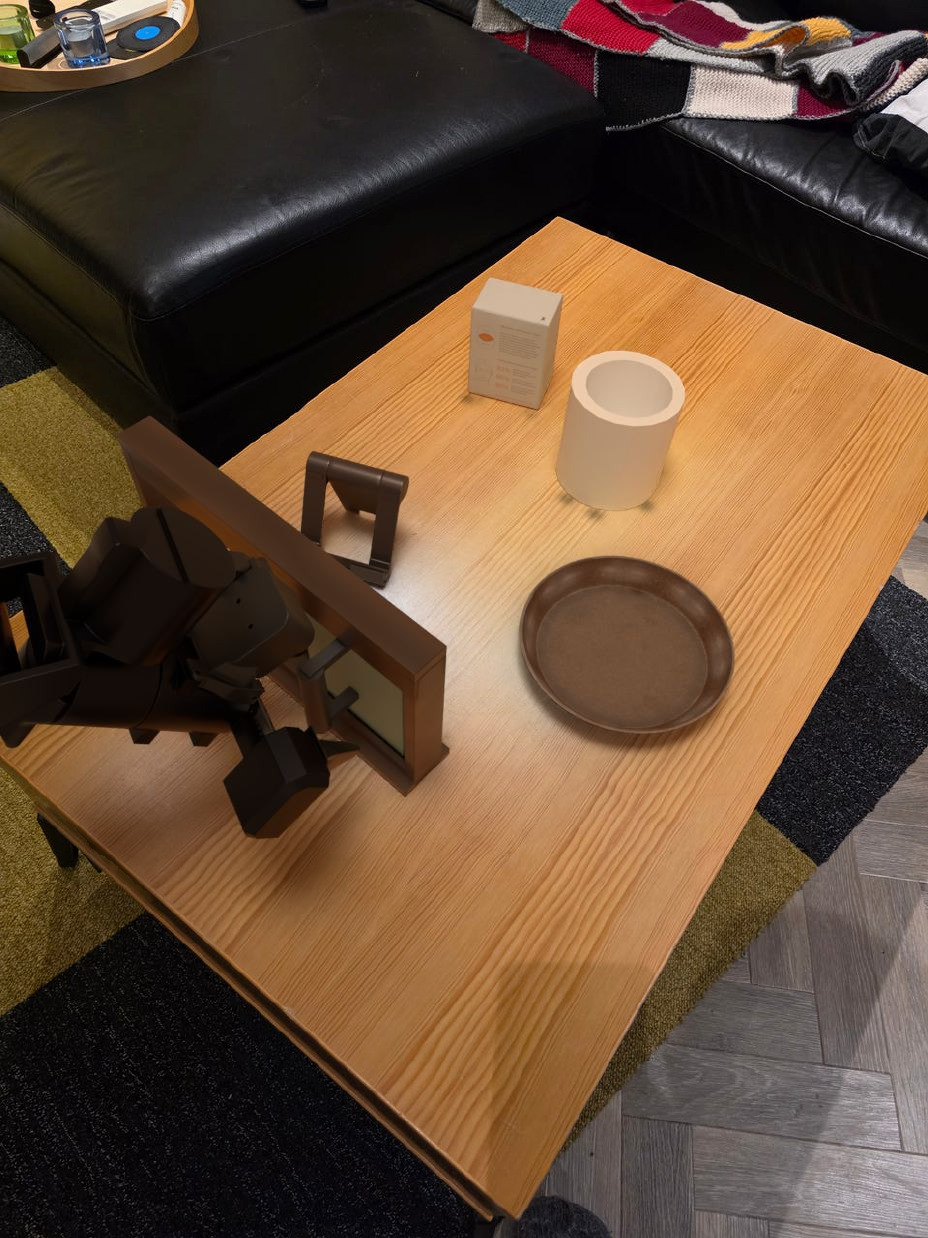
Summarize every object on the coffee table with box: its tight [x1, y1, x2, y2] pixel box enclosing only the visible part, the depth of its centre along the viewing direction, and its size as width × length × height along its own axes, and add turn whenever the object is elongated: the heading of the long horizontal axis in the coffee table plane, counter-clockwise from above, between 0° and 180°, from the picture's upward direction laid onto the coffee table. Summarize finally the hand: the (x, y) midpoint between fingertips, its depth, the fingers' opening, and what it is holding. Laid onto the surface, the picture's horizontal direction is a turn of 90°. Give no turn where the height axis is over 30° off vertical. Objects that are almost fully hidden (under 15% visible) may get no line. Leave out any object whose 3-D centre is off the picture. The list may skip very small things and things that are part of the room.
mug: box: [555, 350, 686, 512], centre depth 83 cm, size 14×10×11 cm
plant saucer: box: [518, 555, 736, 735], centre depth 73 cm, size 18×18×3 cm
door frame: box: [116, 415, 451, 797], centre depth 66 cm, size 5×30×16 cm, turn 48°
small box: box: [467, 276, 564, 410], centre depth 89 cm, size 8×6×10 cm
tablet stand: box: [300, 450, 410, 587], centre depth 77 cm, size 9×8×8 cm
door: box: [296, 611, 405, 756], centre depth 63 cm, size 6×10×12 cm, turn 48°
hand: (329, 699), depth 62 cm, fingers open, 9 cm apart
